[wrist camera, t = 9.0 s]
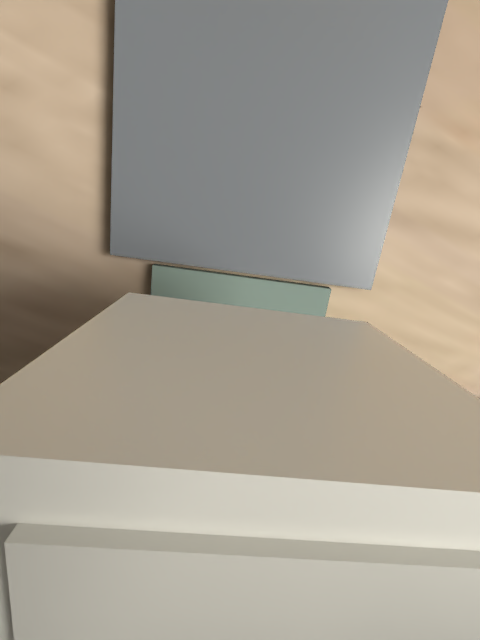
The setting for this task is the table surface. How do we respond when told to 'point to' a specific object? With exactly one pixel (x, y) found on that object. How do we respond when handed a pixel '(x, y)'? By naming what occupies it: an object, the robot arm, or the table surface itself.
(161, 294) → the pad
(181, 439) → the cover
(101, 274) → the table surface
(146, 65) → the base plate
